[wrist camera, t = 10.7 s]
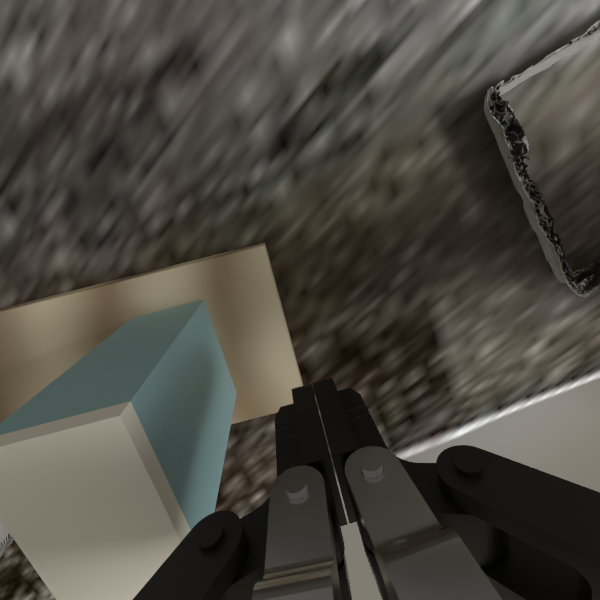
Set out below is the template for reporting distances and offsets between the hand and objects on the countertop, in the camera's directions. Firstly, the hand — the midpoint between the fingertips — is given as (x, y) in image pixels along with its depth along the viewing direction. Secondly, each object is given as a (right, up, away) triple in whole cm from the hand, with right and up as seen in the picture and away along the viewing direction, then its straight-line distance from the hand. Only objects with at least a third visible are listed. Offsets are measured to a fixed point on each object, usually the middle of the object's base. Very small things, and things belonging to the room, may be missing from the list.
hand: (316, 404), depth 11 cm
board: (-10, 0, +8) cm, 13 cm away
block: (-7, 0, +7) cm, 10 cm away
